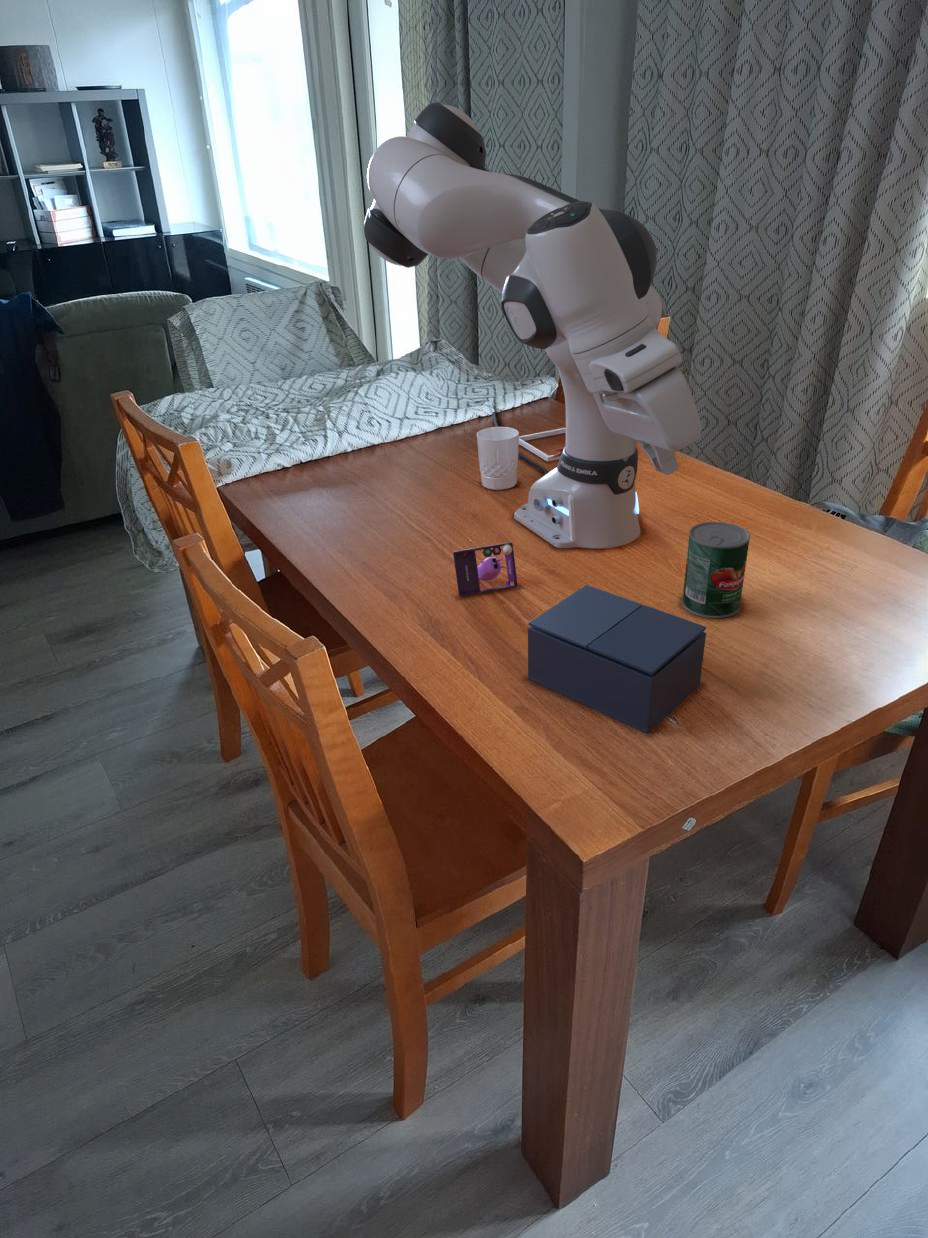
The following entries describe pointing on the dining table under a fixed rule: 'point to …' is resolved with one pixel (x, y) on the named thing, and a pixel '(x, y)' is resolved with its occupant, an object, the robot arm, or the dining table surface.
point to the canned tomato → (715, 569)
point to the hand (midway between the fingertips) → (668, 470)
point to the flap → (585, 615)
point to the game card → (483, 568)
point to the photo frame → (539, 435)
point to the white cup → (498, 457)
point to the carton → (624, 666)
